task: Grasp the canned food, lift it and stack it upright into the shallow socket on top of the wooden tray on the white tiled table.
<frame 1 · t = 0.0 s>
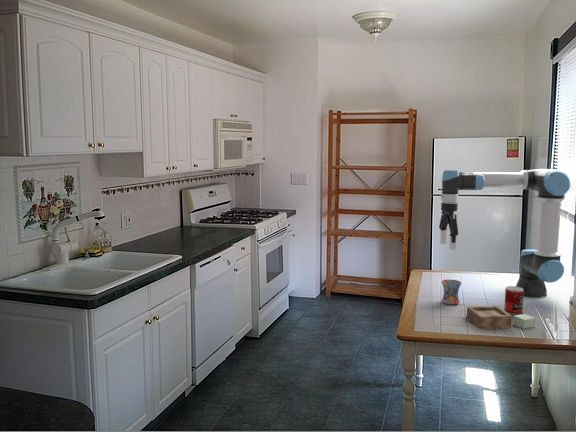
hand: (447, 246, 264), 28 cm above the table, fingers open, 13 cm apart
wooden tray: (488, 322, 239), on the table
mug: (451, 302, 268), on the table
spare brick: (524, 325, 235), on the table
canned food: (513, 311, 254), on the table
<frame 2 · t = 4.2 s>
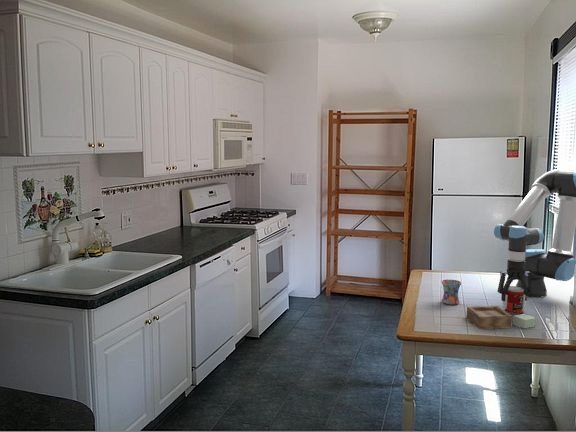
hand: (513, 307, 254), 2 cm above the table, fingers closed on canned food, 8 cm apart
canned food: (513, 311, 254), on the table, touching gripper
everything else where it was.
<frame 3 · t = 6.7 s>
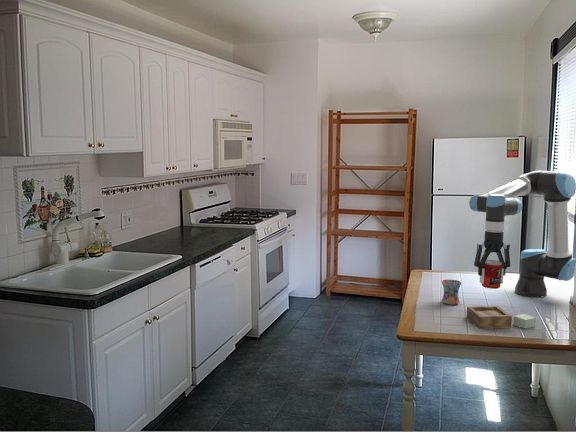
hand: (491, 282, 237), 18 cm above the table, fingers closed on canned food, 8 cm apart
canned food: (490, 286, 237), point 16 cm above the table, touching gripper
everything else where it was.
when the fingers open (6 cm above the table, at t = 9.7 s): canned food stays where it is, resting on wooden tray.
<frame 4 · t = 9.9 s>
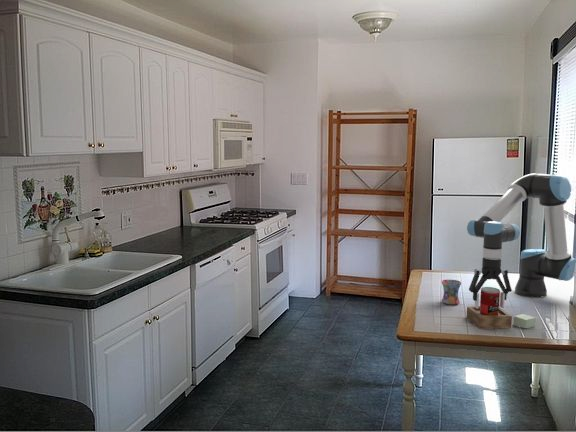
hand: (489, 307, 238), 7 cm above the table, fingers open, 10 cm apart
canned food: (489, 314, 238), point 4 cm above the table, touching wooden tray
everything else where it was.
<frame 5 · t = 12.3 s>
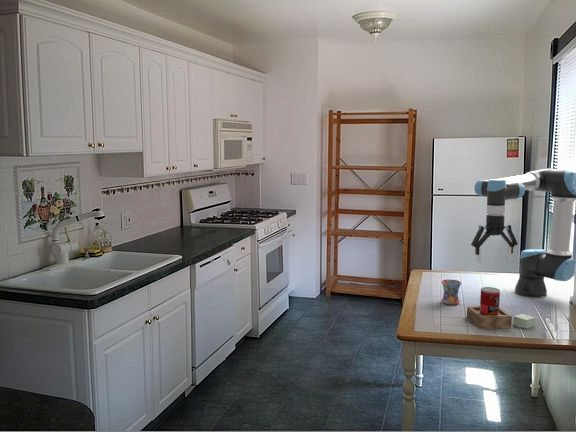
hand: (493, 261, 245), 25 cm above the table, fingers open, 13 cm apart
nothing on the table moved.
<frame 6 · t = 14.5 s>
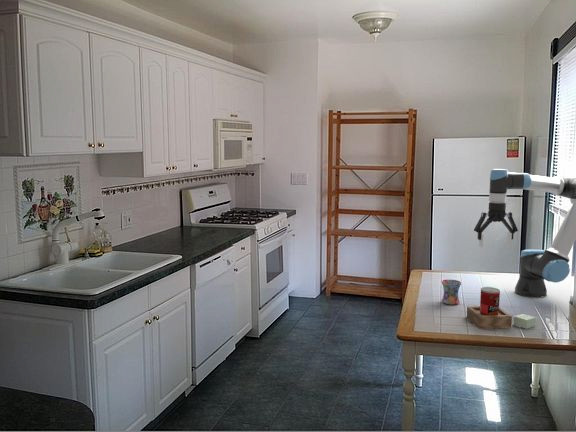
hand: (494, 246, 260), 29 cm above the table, fingers open, 13 cm apart
nothing on the table moved.
at the end: canned food inside the target area on the wooden tray (0.1 cm from its centre), point 3.8 cm above the wooden tray's base; canned food tilted 0°; the gripper is holding nothing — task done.
